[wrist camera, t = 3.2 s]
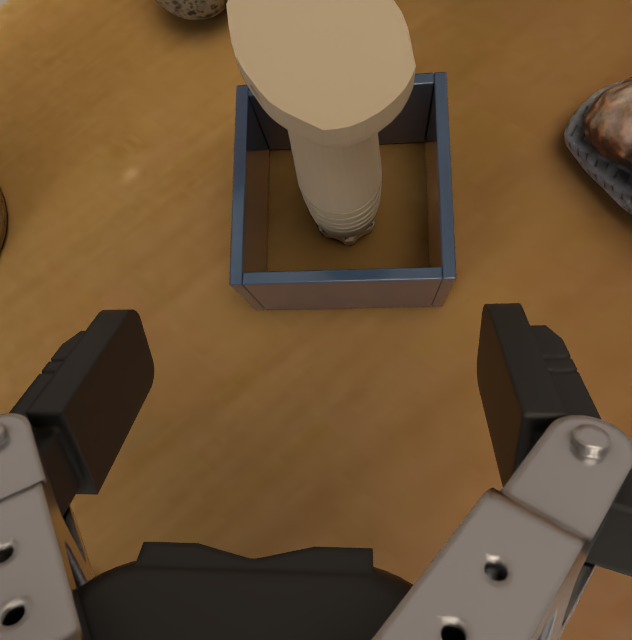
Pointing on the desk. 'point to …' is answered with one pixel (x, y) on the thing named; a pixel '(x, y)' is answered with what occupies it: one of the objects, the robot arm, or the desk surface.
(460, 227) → the desk surface
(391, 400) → the desk surface
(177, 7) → the decorative egg
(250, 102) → the open box
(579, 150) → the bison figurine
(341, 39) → the handle
